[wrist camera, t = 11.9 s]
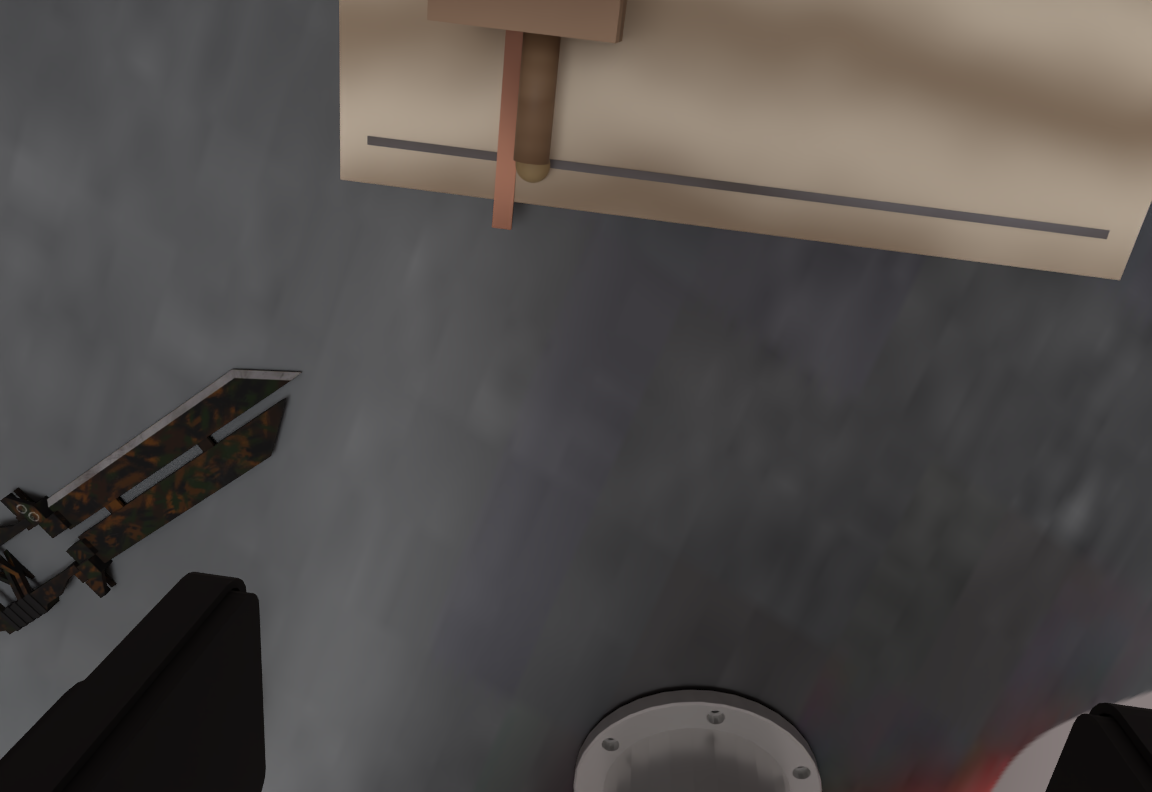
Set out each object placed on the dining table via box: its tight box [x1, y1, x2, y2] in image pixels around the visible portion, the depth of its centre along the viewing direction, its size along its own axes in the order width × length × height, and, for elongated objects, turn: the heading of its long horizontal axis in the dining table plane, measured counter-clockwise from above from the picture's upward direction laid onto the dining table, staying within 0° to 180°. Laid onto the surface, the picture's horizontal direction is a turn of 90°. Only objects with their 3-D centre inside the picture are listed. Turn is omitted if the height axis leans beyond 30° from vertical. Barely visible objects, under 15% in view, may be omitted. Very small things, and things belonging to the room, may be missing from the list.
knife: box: [0, 369, 302, 634], centre depth 39 cm, size 25×6×1 cm, turn 119°
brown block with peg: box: [427, 0, 627, 183], centre depth 24 cm, size 9×5×6 cm, turn 174°
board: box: [339, 0, 1152, 280], centre depth 27 cm, size 13×28×4 cm, turn 84°
